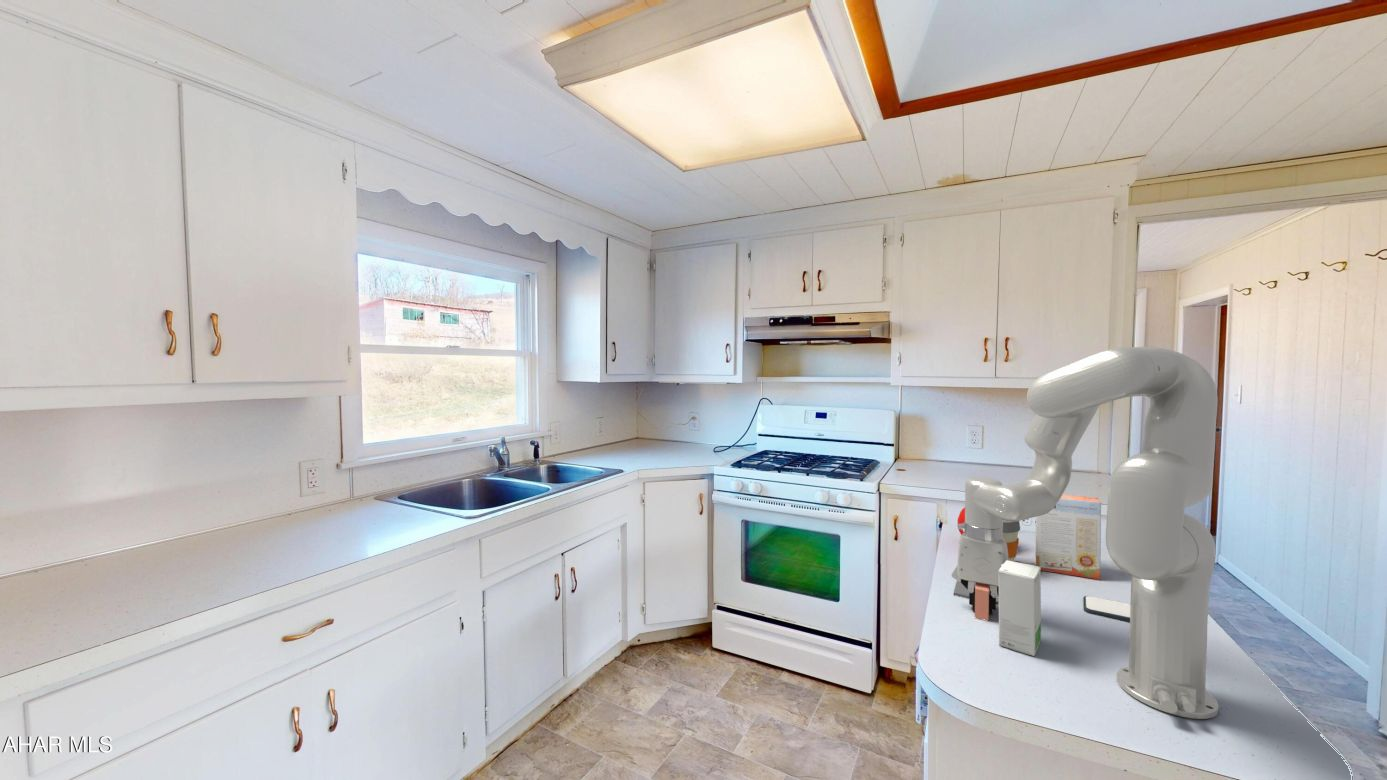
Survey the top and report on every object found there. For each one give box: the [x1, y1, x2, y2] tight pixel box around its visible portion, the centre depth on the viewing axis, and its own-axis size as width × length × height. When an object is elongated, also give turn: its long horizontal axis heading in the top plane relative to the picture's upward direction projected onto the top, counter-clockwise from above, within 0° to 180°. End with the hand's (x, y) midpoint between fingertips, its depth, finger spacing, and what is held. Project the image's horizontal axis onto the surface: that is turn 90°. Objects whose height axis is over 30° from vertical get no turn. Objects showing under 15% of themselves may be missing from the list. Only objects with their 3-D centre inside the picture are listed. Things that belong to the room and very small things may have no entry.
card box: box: [974, 582, 990, 621], centre depth 114 cm, size 9×3×7 cm, turn 147°
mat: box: [953, 580, 999, 605], centre depth 125 cm, size 15×15×1 cm
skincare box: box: [998, 560, 1042, 657], centre depth 101 cm, size 8×7×16 cm
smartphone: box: [1082, 595, 1130, 624], centre depth 112 cm, size 9×2×16 cm
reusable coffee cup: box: [1003, 520, 1021, 562], centre depth 138 cm, size 13×13×15 cm
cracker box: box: [1035, 493, 1102, 580], centre depth 135 cm, size 14×6×21 cm, turn 58°
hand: (982, 609), depth 115 cm, fingers closed on card box, 2 cm apart
